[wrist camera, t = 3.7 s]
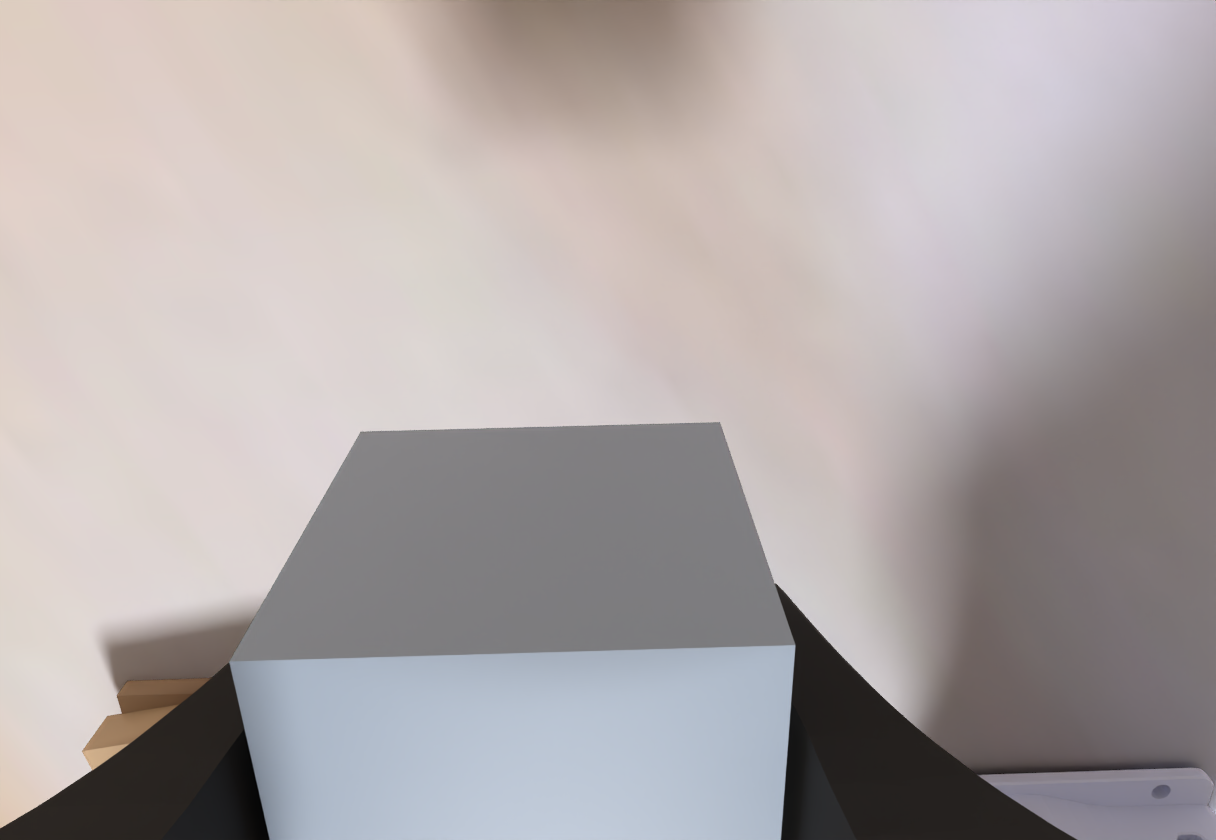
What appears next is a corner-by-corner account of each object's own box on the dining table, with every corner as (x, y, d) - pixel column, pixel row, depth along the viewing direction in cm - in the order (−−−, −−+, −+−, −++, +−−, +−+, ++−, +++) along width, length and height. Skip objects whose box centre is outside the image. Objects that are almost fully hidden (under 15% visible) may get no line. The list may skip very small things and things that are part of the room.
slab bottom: (361, 658, 24) (350, 689, 23) (388, 822, 27) (378, 857, 26) (138, 664, 24) (116, 695, 23) (185, 828, 27) (167, 863, 26)
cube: (719, 422, 13) (796, 644, 8) (710, 706, 15) (767, 1016, 10) (360, 431, 13) (228, 661, 8) (400, 715, 15) (314, 1031, 10)
